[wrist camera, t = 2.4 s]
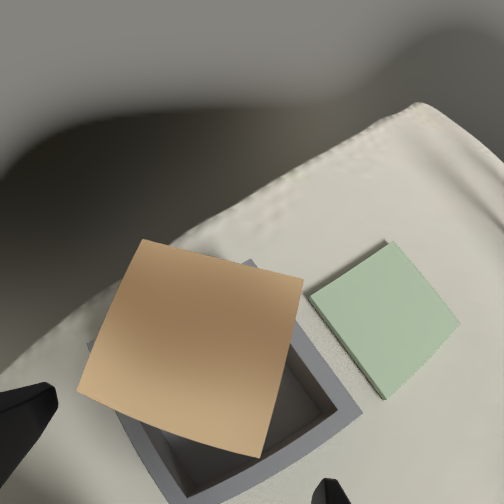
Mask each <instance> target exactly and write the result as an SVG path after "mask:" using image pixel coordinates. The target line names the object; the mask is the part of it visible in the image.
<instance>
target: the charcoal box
mask: <svg viewBox="0 0 504 504" xmlns="http://www.w3.org/2000/svg"><path fill="white" fill-rule="evenodd" d="M242 264H243V265H247V266H251V267H255V268H257V266H256V265H255V263H254V262H253V261H252V259H249V260H247V261H246V262H244V263H242ZM95 341H96V339H95V340H93V341H91V342H90V343H88V344H87V346H88V349H89V351H90V353H91V351H92V348H93V346H94V343H95ZM115 412H116V414H117V416H118V418H119V420H120V422H121V424H122V426H123V428H124V430H125V431H126V433H127V435H128V437H129V439H130V441H131V443H132V445H133V446H134V448H135V450H136V452H137V453H138V455H139V457H140V459H141V460H142V462H143V464H144V465H145V467H146V469H147V470H148V472H149V474H150V475H151V477H152V479H153V480H154V482H155V483H156V485H157V486H158V488H159V489H160V491H161V492H162V494H163V495H164V497H165V498H166V500H167V501H168V503H169V504H220V503H222V502H224V501H226V500H228V499H230V498H232V497H234V496H236V495H238V494H240V493H242V492H244V491H246V490H248V489H250V488H252V487H254V486H256V485H257V484H259V483H261V482H263V481H264V480H266V479H268V478H270V477H271V476H273V475H275V474H277V473H278V472H280V471H282V470H283V469H285V468H286V467H288V466H290V465H291V464H293V463H294V462H296V461H298V460H299V459H301V458H302V457H304V456H305V455H307V454H308V453H310V452H311V451H313V450H314V449H316V448H317V447H319V446H320V445H321V444H323V443H324V442H326V441H327V440H329V439H330V438H331V437H333V436H334V435H335V434H337V433H338V432H339V431H341V430H342V429H343V428H345V427H346V426H347V425H349V424H350V423H351V422H352V421H354V420H355V419H356V418H358V417H359V416H360V415H361V414H363V412H362V410H361V409H360V408H359V406H358V405H357V404H356V402H355V401H354V400H353V398H352V397H351V395H350V394H349V393H348V391H347V390H346V389H345V387H344V386H343V385H342V383H341V382H340V380H339V379H338V378H337V376H336V375H335V374H334V372H333V371H332V369H331V368H330V367H329V365H328V364H327V363H326V361H325V360H324V358H323V357H322V356H321V354H320V353H319V352H318V350H317V349H316V348H315V346H314V345H313V343H312V342H311V341H310V339H309V338H308V337H307V335H306V334H305V332H304V331H303V330H302V328H301V327H300V326H299V324H298V323H297V321H296V320H295V323H294V327H293V332H292V336H291V340H290V345H289V349H288V353H287V357H286V362H285V366H284V370H283V374H282V378H281V382H280V386H279V390H278V394H277V398H276V401H275V405H274V409H273V413H272V417H271V420H270V424H269V428H268V431H267V435H266V438H265V442H264V445H263V449H262V452H261V456H260V458H256V457H251V456H247V455H243V454H239V453H235V452H231V451H227V450H224V449H220V448H217V447H213V446H210V445H206V444H203V443H200V442H197V441H194V440H191V439H188V438H185V437H182V436H179V435H176V434H173V433H170V432H167V431H165V430H162V429H159V428H157V427H154V426H152V425H149V424H147V423H144V422H142V421H139V420H137V419H134V418H132V417H130V416H127V415H125V414H123V413H121V412H118V411H116V410H115Z"/></svg>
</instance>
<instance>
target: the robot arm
mask: <svg viewBox="0 0 504 504" xmlns="http://www.w3.org/2000/svg"><path fill="white" fill-rule="evenodd" d="M57 408H58V399H57V394H56V389H55V387H54V386H52V385H50V384H49V383H47V382H42V383H38V384H34V385H30V386H26V387H22V388H17V389H13V390H9V391H5V392H0V488H1V487H2V485H3V484H4V483H5V481H6V480H7V479H8V478H9V476H10V475H11V474H12V472H13V471H14V470H15V468H16V467H17V466H18V464H19V463H20V462H21V461H22V459H23V458H24V457H25V456H26V454H27V453H28V452H29V450H30V449H31V448H32V447H33V445H34V444H35V443H36V442H37V440H38V439H39V437H40V436H41V434H42V433H43V431H44V430H45V428H46V426H47V425H48V423H49V421H50V420H51V418H52V417H53V415H54V414H55V412H56V410H57ZM311 504H351V503H350V501H349V499H348V497H347V496H346V494H345V492H344V491H343V489H342V487H341V486H340V484H339V482H338V481H337V480H336V479H331V478H324V479H322V481H321V482H320V484H319V485H318V486H317V488H316V489H315V491H314V493H313V496H312V501H311Z"/></svg>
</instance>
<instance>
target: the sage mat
mask: <svg viewBox="0 0 504 504" xmlns="http://www.w3.org/2000/svg"><path fill="white" fill-rule="evenodd" d="M308 300H309V301H310V302H311V304H312V305H313V306H314V308H315V309H316V310H317V312H318V313H319V314H320V316H321V317H322V318H323V320H324V321H325V322H326V324H327V325H328V326H329V328H330V329H331V330H332V332H333V333H334V334H335V336H336V337H337V338H338V340H339V341H340V342H341V344H342V345H343V346H344V348H345V349H346V350H347V352H348V353H349V354H350V356H351V357H352V358H353V360H354V361H355V362H356V364H357V365H358V366H359V368H360V369H361V371H362V372H363V373H364V375H365V376H366V377H367V379H368V380H369V381H370V383H371V384H372V385H373V387H374V388H375V390H376V391H377V392H378V394H379V395H380V396H381V398H382V399H383V400H386V399H388V398H389V397H390V396H391V395H392V394H394V393H395V392H396V391H397V390H398V389H399V388H400V387H401V386H402V385H403V384H404V383H405V382H406V381H407V380H408V379H410V378H411V377H412V376H413V375H414V374H415V373H416V372H417V371H418V370H419V369H420V368H421V367H422V366H423V365H424V364H425V363H426V362H427V360H428V359H429V358H430V357H431V356H432V355H433V354H434V353H435V352H436V351H437V350H438V349H439V348H440V347H441V346H442V344H443V343H444V342H445V341H446V340H447V339H448V338H449V337H450V335H451V334H452V333H453V332H454V331H455V330H456V328H457V327H458V326H459V325H460V324H461V323H460V322H459V321H458V319H457V318H456V317H455V315H454V314H453V313H452V311H451V310H450V309H449V307H448V306H447V305H446V304H445V302H444V301H443V300H442V298H441V297H440V296H439V295H438V293H437V292H436V291H435V290H434V288H433V287H432V286H431V285H430V283H429V282H428V281H427V280H426V278H425V277H424V276H423V275H422V274H421V272H420V271H419V270H418V269H417V268H416V266H415V265H414V264H413V263H412V262H411V260H410V259H409V258H408V257H407V256H406V255H405V254H404V252H403V251H402V250H401V249H400V248H399V247H398V246H397V244H396V243H395V242H394V241H392V242H391V243H389V244H388V245H386V246H385V247H383V248H382V249H381V250H379V251H378V252H376V253H375V254H373V255H372V256H370V257H369V258H367V259H366V260H364V261H363V262H361V263H360V264H358V265H357V266H355V267H354V268H352V269H351V270H349V271H348V272H346V273H345V274H343V275H342V276H340V277H339V278H337V279H336V280H334V281H333V282H331V283H330V284H328V285H326V286H325V287H323V288H322V289H320V290H319V291H317V292H315V293H314V294H312V295H311V296H310V297H309V299H308Z"/></svg>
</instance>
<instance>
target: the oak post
mask: <svg viewBox="0 0 504 504" xmlns="http://www.w3.org/2000/svg"><path fill="white" fill-rule="evenodd" d="M303 281H304V279H301V278H296V277H292V276H288V275H284V274H280V273H276V272H272V271H268V270H264V269H260V268H255V267H251V266H247V265H243V264H239V263H235V262H231V261H227V260H223V259H219V258H215V257H211V256H207V255H203V254H199V253H195V252H191V251H187V250H184V249H180V248H176V247H172V246H168V245H164V244H160V243H156V242H152V241H148V240H145V239H142V241H141V243H140V245H139V247H138V249H137V251H136V253H135V255H134V257H133V259H132V261H131V263H130V265H129V267H128V269H127V271H126V273H125V275H124V277H123V279H122V282H121V284H120V286H119V288H118V290H117V292H116V295H115V297H114V299H113V301H112V303H111V306H110V308H109V310H108V312H107V315H106V317H105V319H104V322H103V324H102V326H101V329H100V331H99V333H98V336H97V338H96V341H95V343H94V346H93V348H92V351H91V353H90V356H89V358H88V361H87V363H86V366H85V369H84V371H83V374H82V377H81V380H80V382H79V385H78V388H77V391H78V392H79V393H81V394H83V395H85V396H87V397H89V398H91V399H93V400H95V401H97V402H99V403H101V404H103V405H105V406H107V407H110V408H112V409H114V410H116V411H118V412H121V413H123V414H125V415H127V416H130V417H132V418H134V419H137V420H139V421H142V422H144V423H147V424H149V425H152V426H154V427H157V428H159V429H162V430H165V431H167V432H170V433H173V434H176V435H179V436H182V437H185V438H188V439H191V440H194V441H197V442H200V443H203V444H206V445H210V446H213V447H217V448H220V449H224V450H227V451H231V452H235V453H239V454H243V455H247V456H251V457H256V458H260V456H261V452H262V449H263V445H264V442H265V438H266V435H267V431H268V428H269V424H270V420H271V417H272V413H273V409H274V405H275V401H276V398H277V394H278V390H279V386H280V382H281V378H282V374H283V370H284V366H285V362H286V357H287V353H288V349H289V345H290V340H291V336H292V332H293V327H294V323H295V318H296V314H297V309H298V305H299V300H300V295H301V290H302V286H303Z"/></svg>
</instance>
